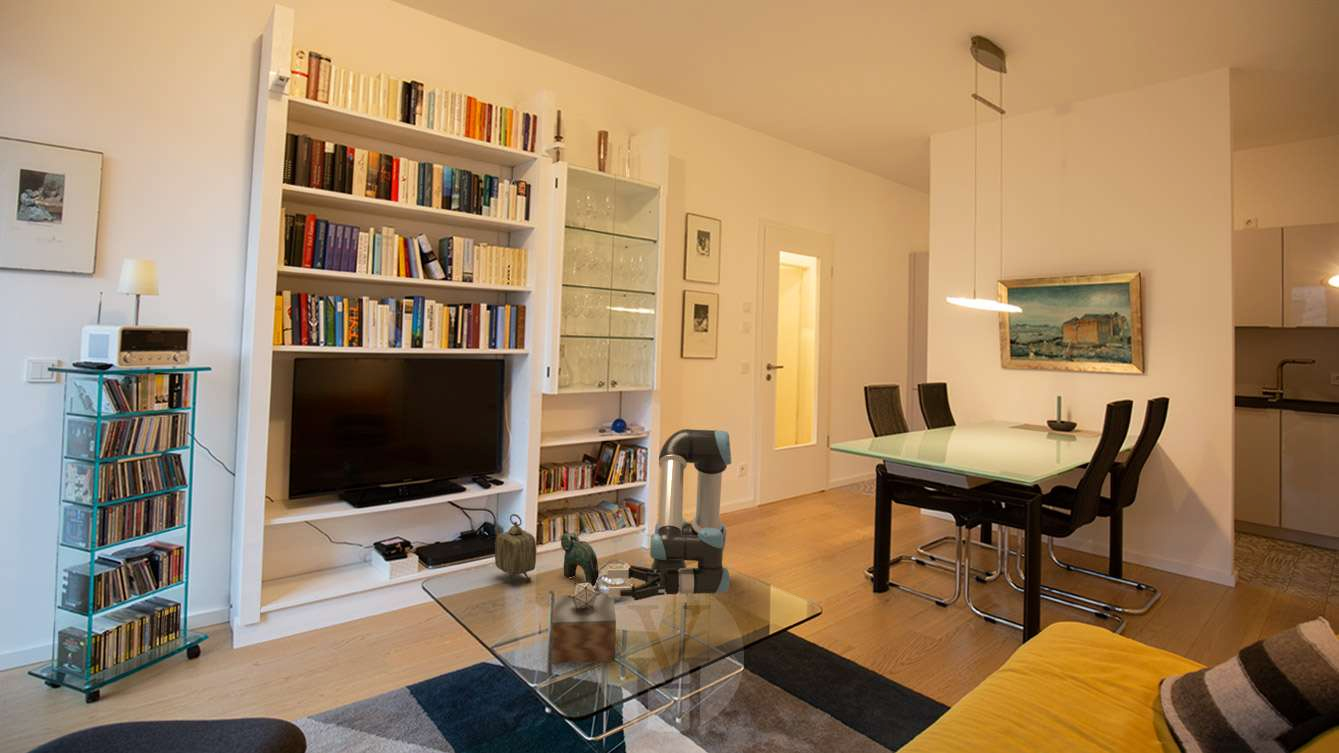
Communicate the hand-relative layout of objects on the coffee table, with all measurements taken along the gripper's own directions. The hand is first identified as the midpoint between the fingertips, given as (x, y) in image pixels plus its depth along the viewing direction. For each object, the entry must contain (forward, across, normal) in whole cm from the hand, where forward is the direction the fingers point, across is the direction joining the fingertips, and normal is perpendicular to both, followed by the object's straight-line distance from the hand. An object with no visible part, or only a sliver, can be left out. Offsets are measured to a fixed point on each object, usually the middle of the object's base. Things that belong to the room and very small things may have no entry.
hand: (607, 582), depth 192 cm
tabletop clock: (+33, +52, -20) cm, 65 cm away
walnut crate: (+7, 0, -20) cm, 21 cm away
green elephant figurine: (+9, +48, -20) cm, 53 cm away
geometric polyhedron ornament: (+7, -1, -8) cm, 10 cm away
